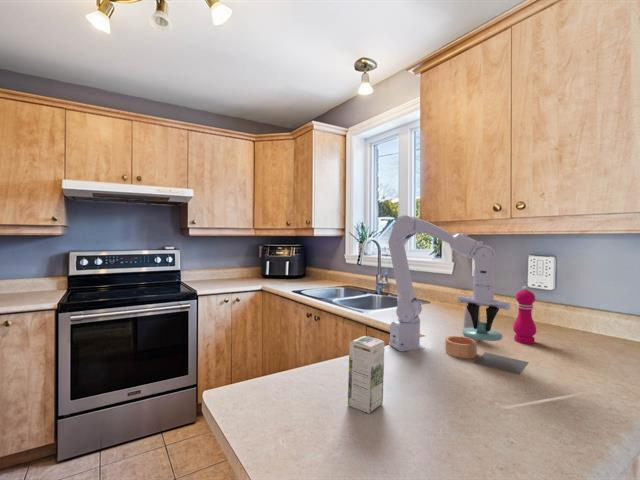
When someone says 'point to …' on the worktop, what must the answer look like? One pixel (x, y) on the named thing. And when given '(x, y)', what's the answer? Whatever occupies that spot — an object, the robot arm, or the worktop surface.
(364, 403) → the syrup box
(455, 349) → the bowl
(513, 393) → the worktop surface
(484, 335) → the cover
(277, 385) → the worktop surface
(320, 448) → the worktop surface
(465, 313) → the energy drink
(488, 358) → the mat
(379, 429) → the worktop surface
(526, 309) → the pepper mill
